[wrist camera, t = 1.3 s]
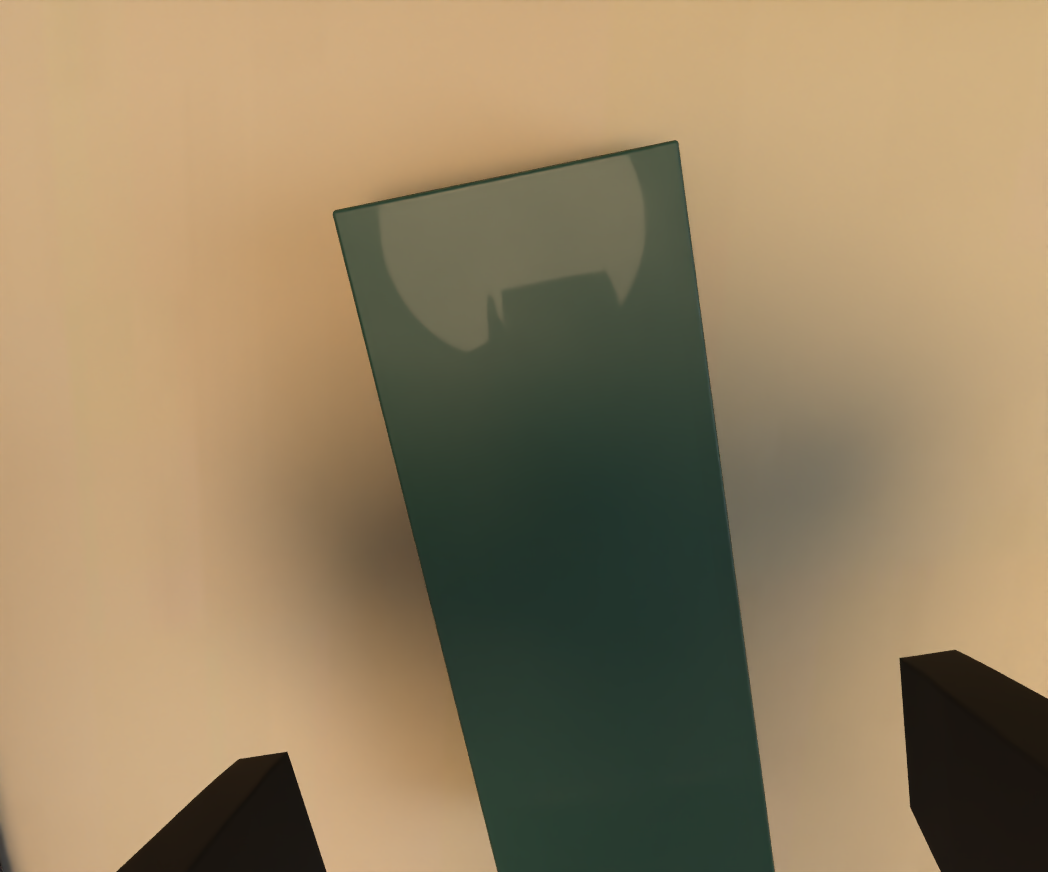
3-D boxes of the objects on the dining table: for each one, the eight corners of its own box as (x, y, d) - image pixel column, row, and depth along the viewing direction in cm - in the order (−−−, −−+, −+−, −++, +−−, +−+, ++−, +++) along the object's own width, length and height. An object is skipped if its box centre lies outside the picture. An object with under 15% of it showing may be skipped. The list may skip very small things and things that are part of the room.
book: (740, 776, 19) (776, 881, 16) (513, 809, 19) (508, 916, 16) (652, 152, 15) (678, 139, 12) (371, 209, 15) (330, 211, 12)
